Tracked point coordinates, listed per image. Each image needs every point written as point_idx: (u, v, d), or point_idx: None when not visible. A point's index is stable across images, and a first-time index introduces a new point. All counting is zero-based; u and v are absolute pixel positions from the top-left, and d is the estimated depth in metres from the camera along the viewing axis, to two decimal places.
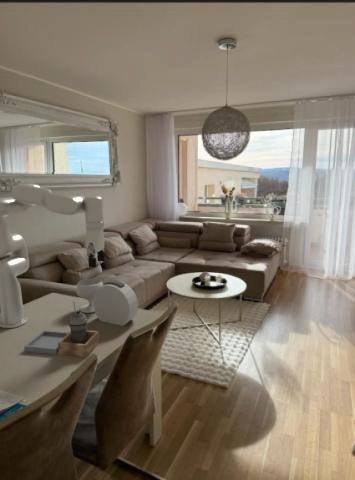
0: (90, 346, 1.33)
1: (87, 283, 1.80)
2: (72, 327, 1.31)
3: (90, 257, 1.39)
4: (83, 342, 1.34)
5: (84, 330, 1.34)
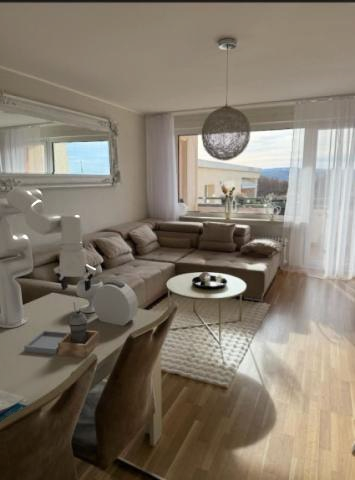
0: (90, 346, 1.33)
1: None
2: (72, 327, 1.31)
3: (90, 278, 1.29)
4: (83, 342, 1.34)
5: (84, 330, 1.34)
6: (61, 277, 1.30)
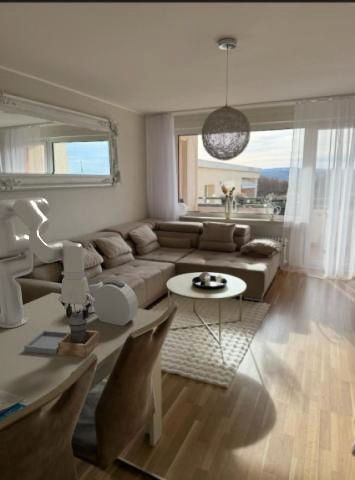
0: (90, 346, 1.33)
1: None
2: (72, 327, 1.31)
3: (88, 307, 1.32)
4: (83, 342, 1.34)
5: (84, 330, 1.34)
6: (66, 306, 1.32)
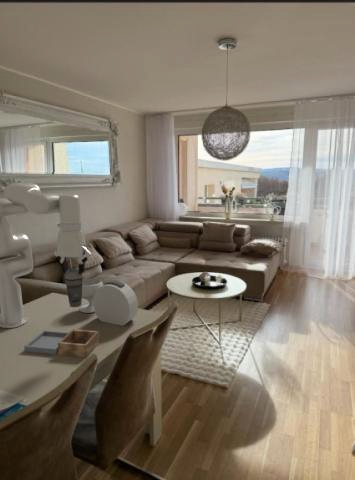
0: (90, 346, 1.33)
1: (87, 283, 1.80)
2: (68, 282, 1.28)
3: (84, 262, 1.29)
4: (79, 298, 1.31)
5: (80, 286, 1.31)
6: (61, 260, 1.29)
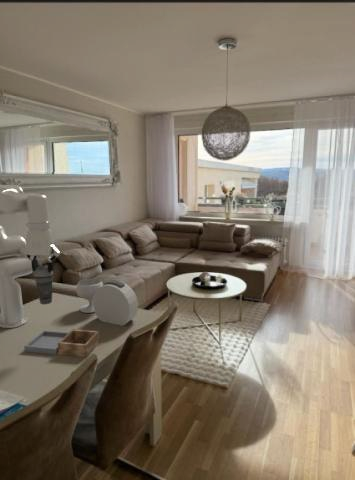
0: (90, 346, 1.33)
1: (87, 283, 1.80)
2: (37, 279, 1.31)
3: (53, 260, 1.32)
4: (49, 295, 1.34)
5: (50, 283, 1.34)
6: (31, 258, 1.32)
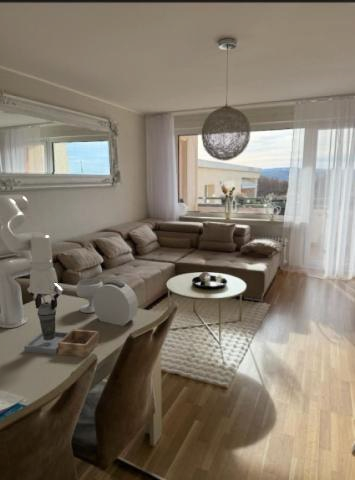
0: (90, 346, 1.33)
1: (87, 283, 1.80)
2: (40, 317, 1.34)
3: (56, 297, 1.35)
4: (52, 332, 1.37)
5: (53, 320, 1.37)
6: (35, 296, 1.35)
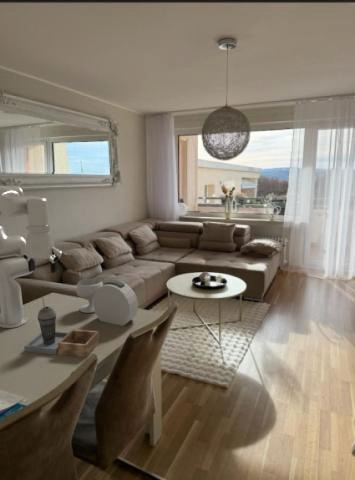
0: (90, 346, 1.33)
1: (87, 283, 1.80)
2: (41, 321, 1.35)
3: (56, 261, 1.32)
4: (52, 336, 1.38)
5: (53, 325, 1.37)
6: (28, 259, 1.33)
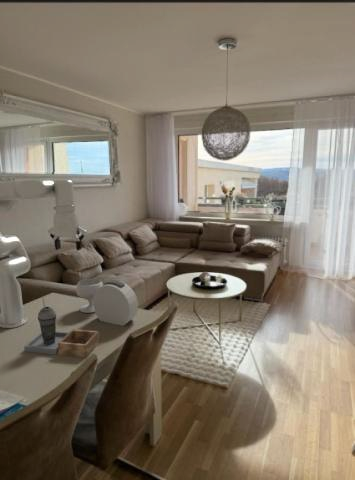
0: (90, 346, 1.33)
1: (87, 283, 1.80)
2: (41, 321, 1.35)
3: (81, 239, 1.41)
4: (52, 336, 1.38)
5: (53, 325, 1.37)
6: (55, 238, 1.42)
